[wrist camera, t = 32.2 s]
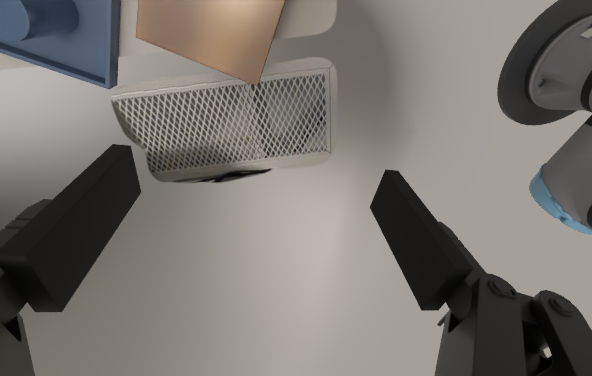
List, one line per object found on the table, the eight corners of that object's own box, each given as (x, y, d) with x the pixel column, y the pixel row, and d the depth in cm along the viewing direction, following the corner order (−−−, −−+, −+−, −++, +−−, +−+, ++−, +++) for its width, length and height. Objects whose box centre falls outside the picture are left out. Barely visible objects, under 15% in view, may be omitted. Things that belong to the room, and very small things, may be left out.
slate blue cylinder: (78, -9, 33) (25, -11, 26) (79, 41, 36) (32, 51, 29) (20, -33, 31) (-55, -44, 24) (27, 21, 34) (-38, 26, 27)
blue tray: (121, -33, 32) (112, -35, 30) (117, 85, 40) (109, 89, 38) (-36, -106, 28) (-59, -114, 26) (-7, 42, 36) (-23, 45, 34)
